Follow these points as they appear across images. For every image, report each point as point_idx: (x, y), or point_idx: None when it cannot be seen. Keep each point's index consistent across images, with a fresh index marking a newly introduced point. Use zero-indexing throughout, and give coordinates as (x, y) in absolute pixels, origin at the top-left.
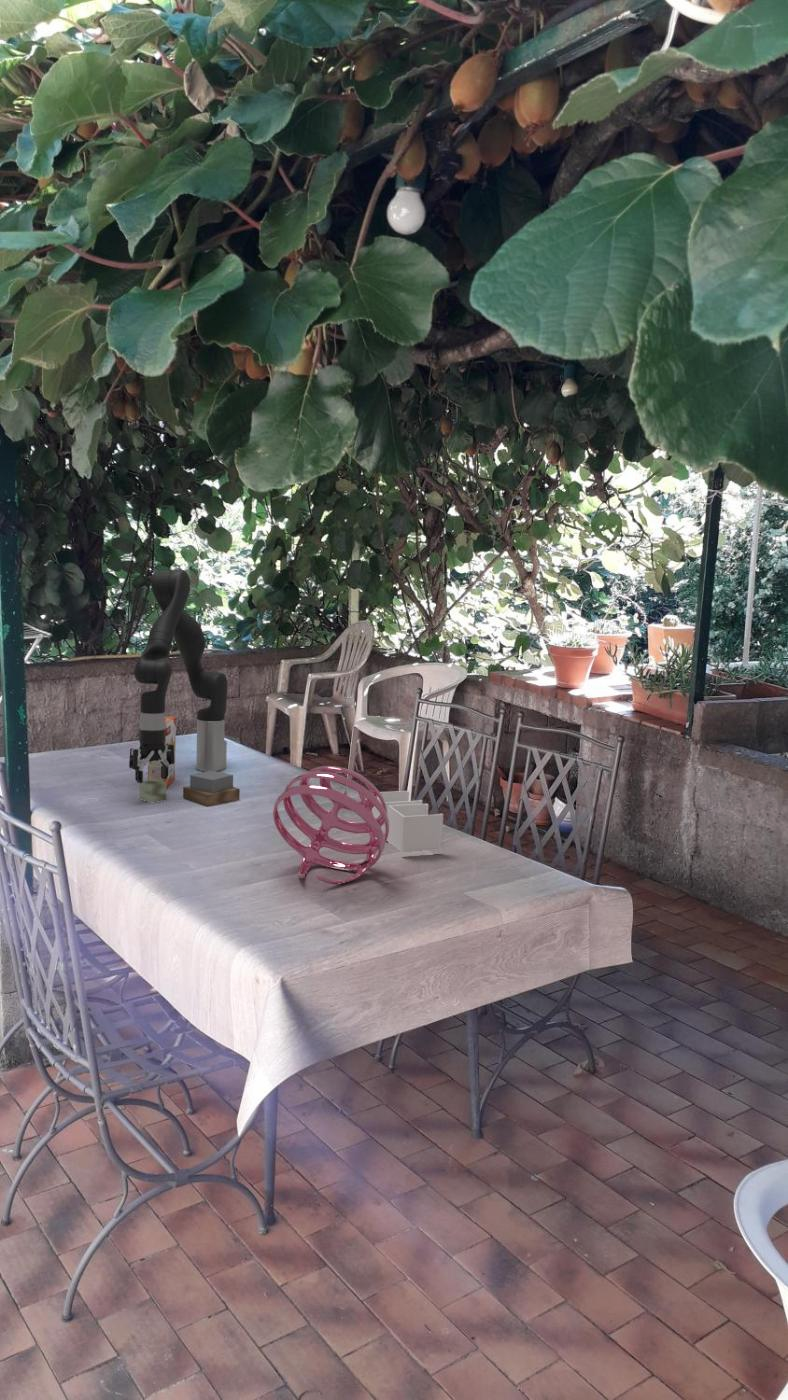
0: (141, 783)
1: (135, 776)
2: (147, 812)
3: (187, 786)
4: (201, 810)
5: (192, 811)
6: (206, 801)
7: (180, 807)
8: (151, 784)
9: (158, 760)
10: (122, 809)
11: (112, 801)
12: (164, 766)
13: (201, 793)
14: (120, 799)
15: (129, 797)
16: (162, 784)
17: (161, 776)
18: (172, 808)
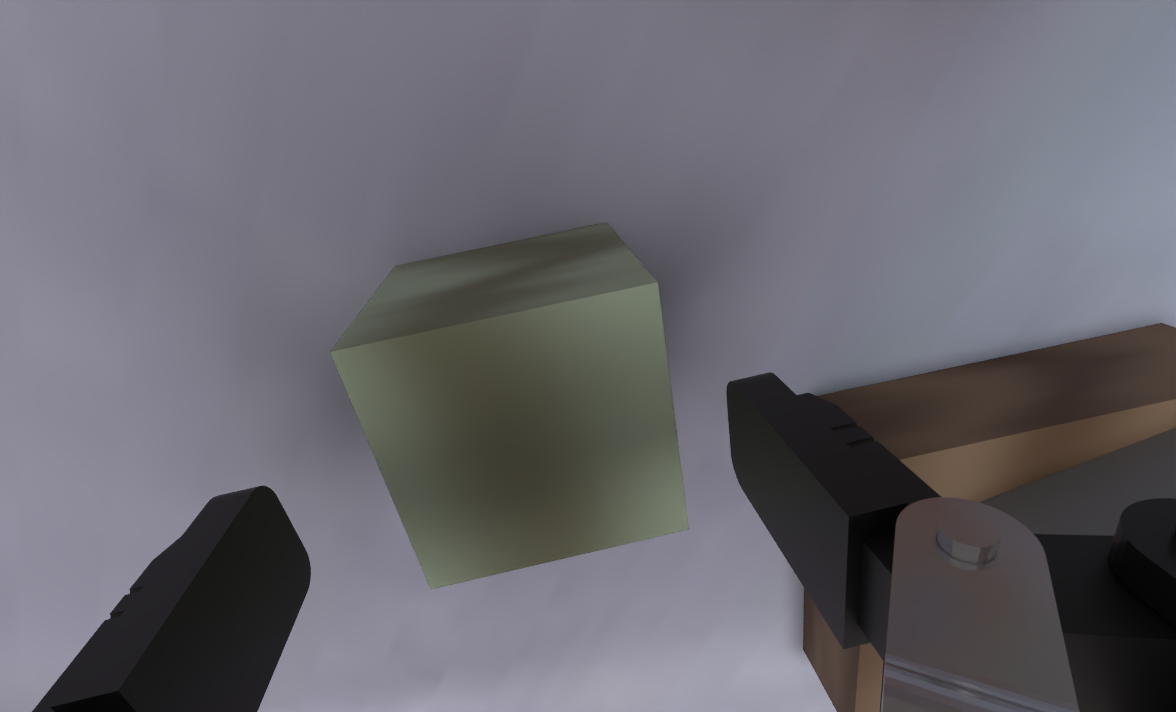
0: (353, 393)
1: (120, 610)
2: (344, 659)
3: (925, 461)
4: (719, 704)
5: (657, 709)
6: (823, 679)
7: (635, 617)
8: (465, 548)
9: (886, 677)
10: (132, 534)
11: (25, 198)
12: (866, 618)
13: (854, 688)
14: (151, 147)
15: (294, 100)
16: (628, 530)
17: (739, 400)
18: (569, 623)
